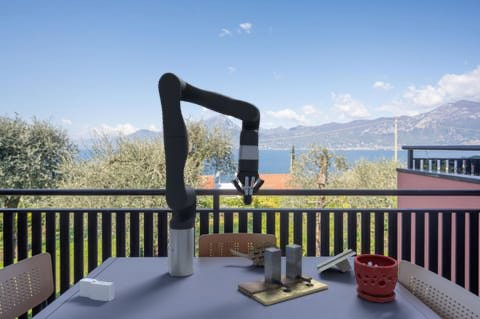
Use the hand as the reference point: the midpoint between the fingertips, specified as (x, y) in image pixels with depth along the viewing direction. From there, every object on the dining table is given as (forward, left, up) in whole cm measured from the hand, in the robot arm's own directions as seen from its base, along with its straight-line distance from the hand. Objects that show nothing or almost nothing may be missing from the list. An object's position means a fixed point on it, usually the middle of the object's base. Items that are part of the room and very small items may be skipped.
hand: (247, 204), depth 130 cm
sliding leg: (+5, -16, -25) cm, 30 cm away
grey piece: (+34, -8, -27) cm, 44 cm away
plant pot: (+29, -33, -27) cm, 52 cm away
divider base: (+6, -15, -26) cm, 31 cm away
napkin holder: (-52, +1, -27) cm, 58 cm away
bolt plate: (+7, -20, -26) cm, 34 cm away
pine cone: (+8, +11, -27) cm, 30 cm away
